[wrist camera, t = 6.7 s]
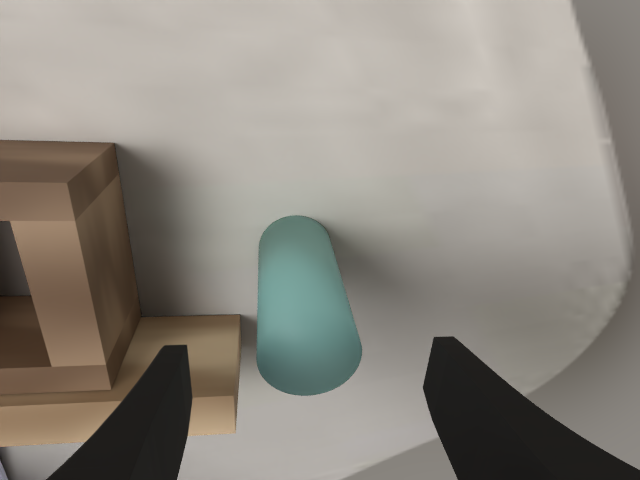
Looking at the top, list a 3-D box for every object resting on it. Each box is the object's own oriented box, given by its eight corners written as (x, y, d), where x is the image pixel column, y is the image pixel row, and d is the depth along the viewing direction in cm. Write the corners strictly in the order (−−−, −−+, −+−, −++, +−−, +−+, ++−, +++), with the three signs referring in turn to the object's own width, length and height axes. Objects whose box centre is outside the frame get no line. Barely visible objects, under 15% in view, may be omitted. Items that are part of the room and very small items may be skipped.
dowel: (328, 278, 20) (356, 393, 14) (259, 279, 20) (257, 397, 14) (333, 215, 19) (367, 312, 13) (258, 215, 19) (256, 314, 12)
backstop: (241, 347, 22) (235, 433, 17) (-98, 359, 20) (-203, 458, 15) (240, 314, 21) (233, 395, 16) (-116, 323, 19) (-232, 417, 14)
